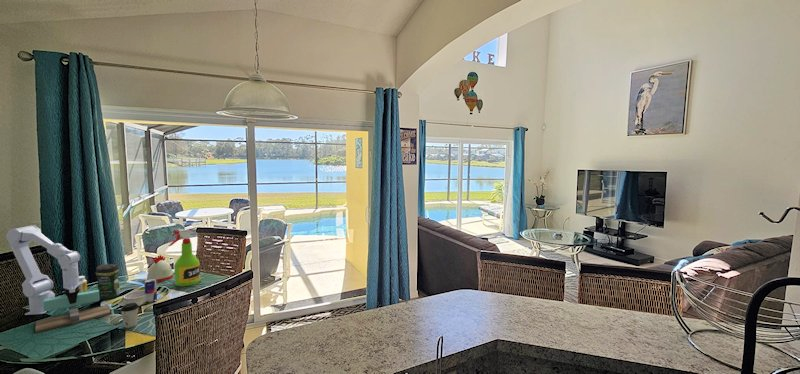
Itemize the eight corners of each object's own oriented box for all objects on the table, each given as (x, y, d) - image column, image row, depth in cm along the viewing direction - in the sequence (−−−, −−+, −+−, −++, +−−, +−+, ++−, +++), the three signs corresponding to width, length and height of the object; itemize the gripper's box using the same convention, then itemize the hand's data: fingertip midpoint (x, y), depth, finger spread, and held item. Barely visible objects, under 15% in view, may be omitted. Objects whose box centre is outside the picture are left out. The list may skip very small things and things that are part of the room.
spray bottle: (162, 287, 205) (160, 230, 202) (189, 277, 223) (187, 224, 219) (179, 290, 202) (177, 232, 198) (205, 279, 219) (203, 226, 215)
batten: (44, 311, 164) (43, 301, 164) (45, 308, 167) (44, 299, 166) (99, 300, 177) (98, 291, 176) (99, 298, 180) (98, 289, 179)
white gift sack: (141, 280, 215) (140, 258, 213) (160, 273, 228) (159, 251, 227) (160, 282, 212) (159, 259, 211) (178, 275, 226) (177, 253, 224)
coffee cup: (124, 330, 156) (123, 309, 155) (118, 326, 160) (117, 305, 159) (142, 324, 162) (141, 304, 161) (136, 320, 166) (135, 300, 165)
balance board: (36, 323, 161) (35, 316, 160) (107, 306, 179) (107, 300, 179) (35, 332, 152) (34, 325, 152) (110, 314, 171) (110, 307, 171)
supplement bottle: (75, 295, 191) (74, 279, 190) (74, 293, 194) (72, 277, 193) (88, 293, 195) (87, 277, 194) (86, 290, 198) (85, 274, 197)
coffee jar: (94, 299, 186) (92, 267, 185) (104, 293, 194) (102, 262, 192) (114, 299, 188) (111, 266, 186) (123, 293, 196) (121, 262, 194)
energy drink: (150, 303, 183) (149, 282, 182) (142, 302, 184) (141, 281, 183) (159, 299, 188) (158, 278, 187) (151, 298, 190) (150, 278, 188)
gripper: (82, 278, 168) (84, 304, 170) (80, 270, 178) (82, 295, 180) (62, 281, 163) (64, 308, 165) (61, 273, 173) (63, 299, 175)
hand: (72, 301), depth 172 cm, fingers closed on batten, 4 cm apart
